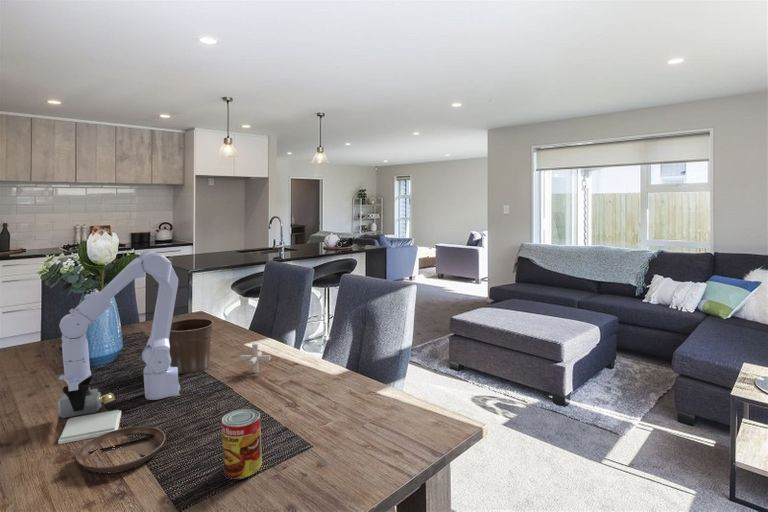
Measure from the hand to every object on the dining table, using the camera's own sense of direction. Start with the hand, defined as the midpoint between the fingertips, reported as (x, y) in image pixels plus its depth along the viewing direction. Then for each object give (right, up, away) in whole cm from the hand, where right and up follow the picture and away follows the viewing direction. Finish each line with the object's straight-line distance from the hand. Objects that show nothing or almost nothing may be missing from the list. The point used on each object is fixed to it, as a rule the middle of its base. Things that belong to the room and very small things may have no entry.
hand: (80, 406), depth 122 cm
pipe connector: (+38, +1, +33) cm, 51 cm away
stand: (+8, -4, -8) cm, 12 cm away
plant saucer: (+23, -6, -19) cm, 30 cm away
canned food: (+52, -6, -24) cm, 58 cm away
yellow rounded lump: (+3, -1, +9) cm, 10 cm away
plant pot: (+14, +1, +37) cm, 40 cm away
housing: (0, -1, 0) cm, 1 cm away
